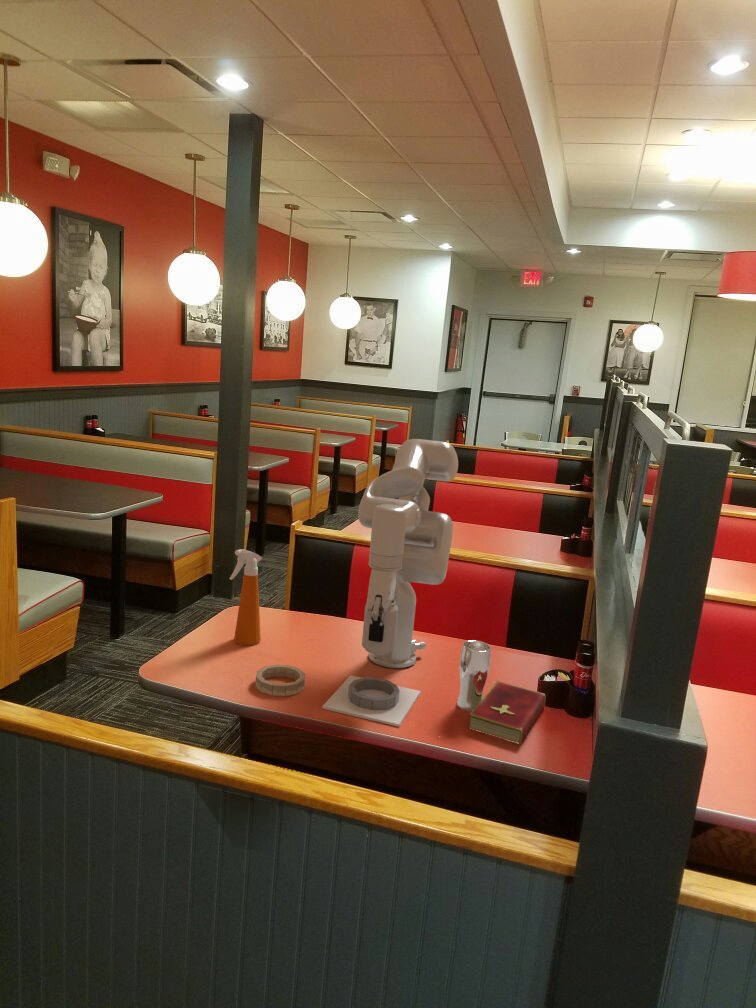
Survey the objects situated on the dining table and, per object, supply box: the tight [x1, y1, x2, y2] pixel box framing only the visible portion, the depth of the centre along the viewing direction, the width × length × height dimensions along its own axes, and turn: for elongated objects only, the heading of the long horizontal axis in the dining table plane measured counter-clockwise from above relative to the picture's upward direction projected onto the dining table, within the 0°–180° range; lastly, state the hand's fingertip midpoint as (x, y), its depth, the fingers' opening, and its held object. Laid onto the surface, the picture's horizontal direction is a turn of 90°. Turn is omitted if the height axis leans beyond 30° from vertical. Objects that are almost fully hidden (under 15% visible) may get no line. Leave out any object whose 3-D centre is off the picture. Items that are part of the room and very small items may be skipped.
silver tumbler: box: [456, 639, 492, 712], centre depth 169 cm, size 7×7×15 cm
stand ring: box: [255, 664, 306, 697], centre depth 172 cm, size 11×11×2 cm
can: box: [361, 599, 398, 655], centre depth 165 cm, size 8×8×12 cm
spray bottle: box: [229, 548, 263, 646], centre depth 193 cm, size 7×11×26 cm, turn 143°
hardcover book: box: [468, 680, 546, 745], centre depth 165 cm, size 12×21×4 cm, turn 154°
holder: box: [322, 675, 422, 728], centre depth 168 cm, size 18×18×3 cm
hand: (379, 634), depth 165 cm, fingers closed on can, 7 cm apart
